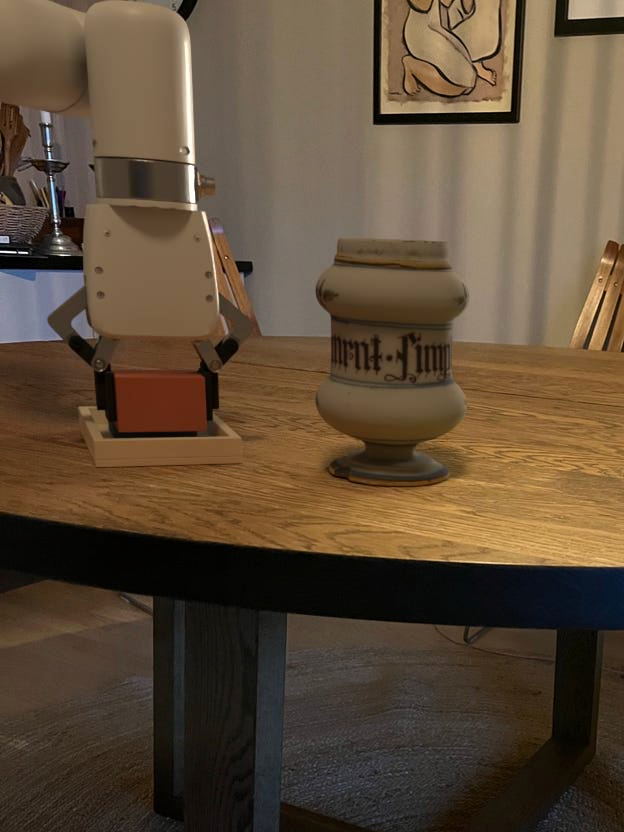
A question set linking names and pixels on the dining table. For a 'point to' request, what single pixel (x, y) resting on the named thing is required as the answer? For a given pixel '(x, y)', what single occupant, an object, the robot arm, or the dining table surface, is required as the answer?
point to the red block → (160, 400)
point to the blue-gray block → (148, 433)
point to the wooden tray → (158, 445)
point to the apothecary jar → (391, 356)
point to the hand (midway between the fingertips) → (159, 417)
